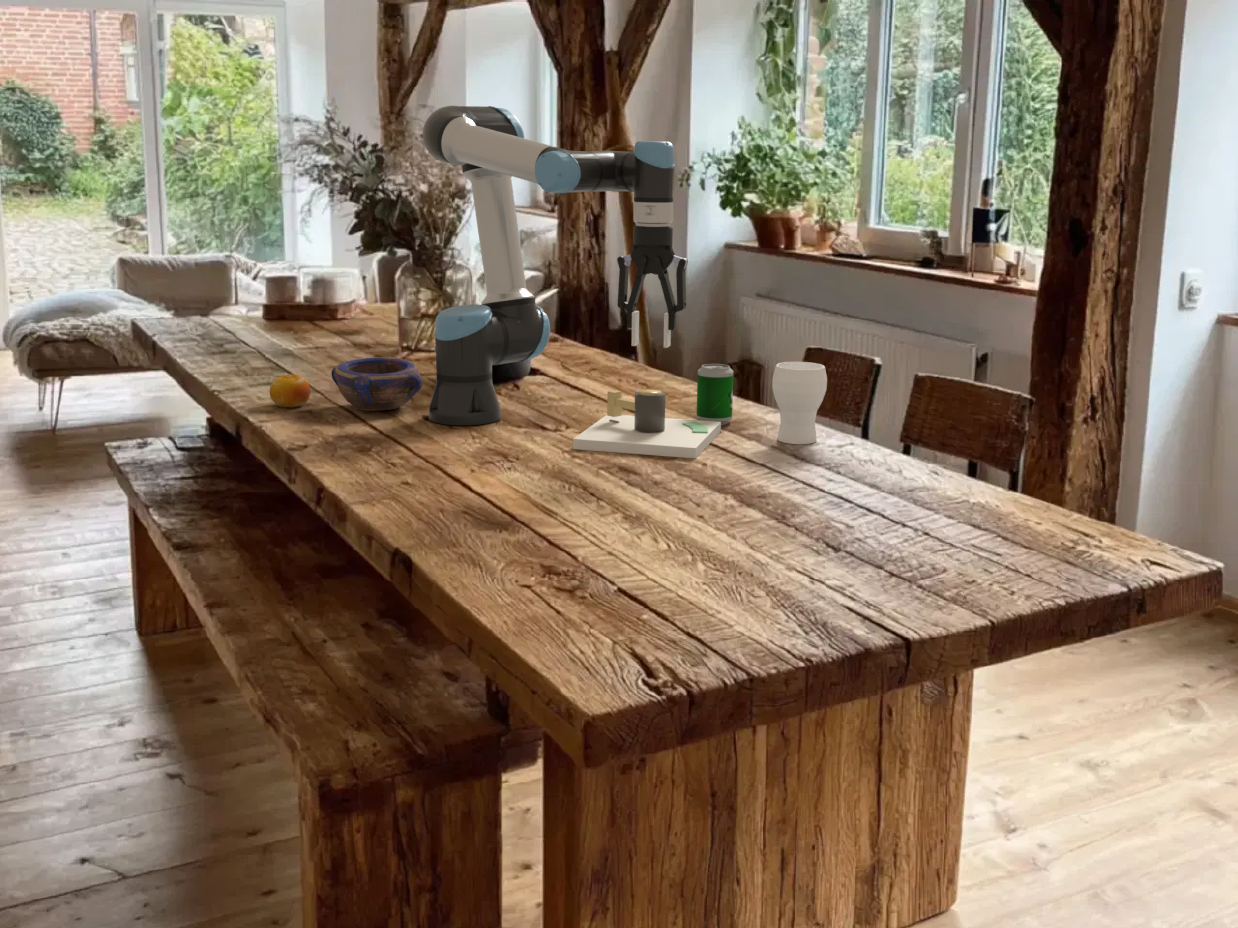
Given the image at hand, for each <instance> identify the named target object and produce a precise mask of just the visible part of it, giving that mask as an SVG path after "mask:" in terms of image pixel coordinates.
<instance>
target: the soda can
mask: <svg viewBox="0 0 1238 928" xmlns="http://www.w3.org/2000/svg"><path fill="white" fill-rule="evenodd" d="M696 379H697V382H696V383H697V384H696V420H702V421H716V422H721V426H724V425H728V423H729V422H730V421H731V420H732V419H733V406H734V405H733V402H734V401H733V400H734V398H733V397H734V393H733V392H734V370H733V369H732V368H731V367H730V365H727V364H723V363H722V364H721V363H708V364H707V363H706V364H702V365H701V367H700V368H699V369H698V370H697V378H696Z"/></svg>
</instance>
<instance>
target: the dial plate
mask: <svg viewBox="0 0 1238 928" xmlns="http://www.w3.org/2000/svg"><path fill="white" fill-rule="evenodd" d="M634 420H635V415H628V414H627V415H626V414H621V416H617V417H611V416H607V414H606V415H605V416H602V418H600V419H599V420H598V421H596V422H595V423H593V424H592V425H591V426H589V427H587V429H585V430H583V431H581V433H579V434H578V435H577V436H575V437H574V438H573V442H572V443H573V444H572V445H573V446H572V447H573V448H572V449H573V450H580V451H581V450H582V451H594V452H595V451H596V452H608V453H619V454H632V455H634V454H635V455H646V456H659V457H660V456H661V457H670V458H671V457H672V458H673V457H675V458H684V459H697V458H698V457H699V456H700V454H702V452H703V451H704V450H705V449H707V447H708V446H709V445H710V444H711V443H712V442H713V440H714V439H715V438H717V437H718V435H719V434H720V433H721V432H722V425H721V422H716V421H702V420H698V419H685V418H672V417H671V418H670V417H665V429H664V430H663V431H658V432H643V431H638V430H635V429H634Z"/></svg>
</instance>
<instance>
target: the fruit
mask: <svg viewBox="0 0 1238 928" xmlns="http://www.w3.org/2000/svg"><path fill="white" fill-rule="evenodd" d="M310 386H311V385H310V384H309V382H308V381H307V380H306V378H305V377H303V376H301V375H299V374H285V375H281V376H278V377H277V378H275V379H273V381H272V383H271V385H270V387H269V396H270V399H271V400H272V402H273V403H274V404H276V405H277V406H279V407H281V408H287V407H289V408H298V407H303V406H304V405H305V404H306V403H307V402H308V400H309V399H310V395H311V387H310Z"/></svg>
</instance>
